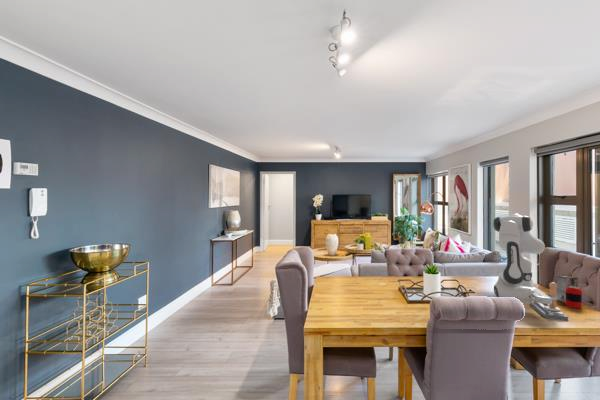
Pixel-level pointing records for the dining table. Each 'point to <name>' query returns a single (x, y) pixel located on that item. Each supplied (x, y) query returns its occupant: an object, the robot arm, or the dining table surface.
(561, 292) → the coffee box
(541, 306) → the fader console
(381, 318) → the dining table surface
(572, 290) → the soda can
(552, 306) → the tan tall piece
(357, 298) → the dining table surface
